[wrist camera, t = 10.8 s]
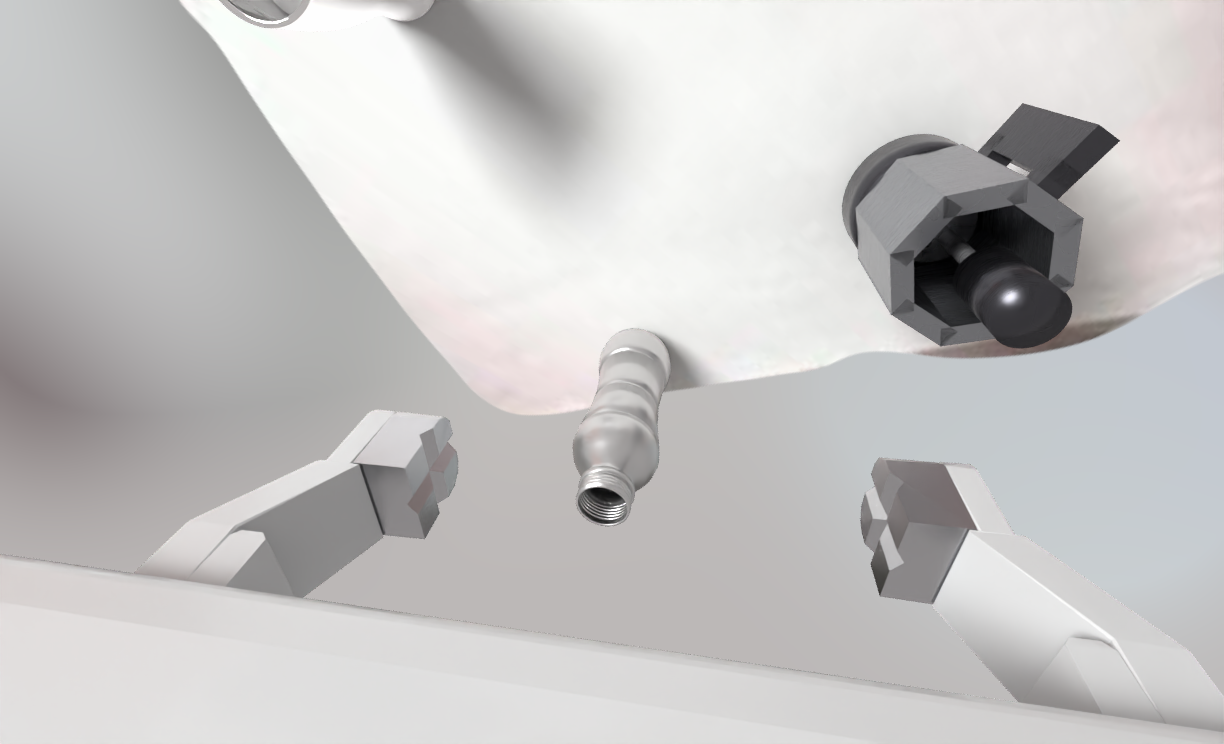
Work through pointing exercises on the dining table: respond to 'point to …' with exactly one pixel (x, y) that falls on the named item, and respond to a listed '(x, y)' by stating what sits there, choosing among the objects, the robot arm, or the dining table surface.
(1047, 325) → the plunger
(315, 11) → the beer glass
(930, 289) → the press carafe
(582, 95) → the dining table surface
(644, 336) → the plastic bottle
